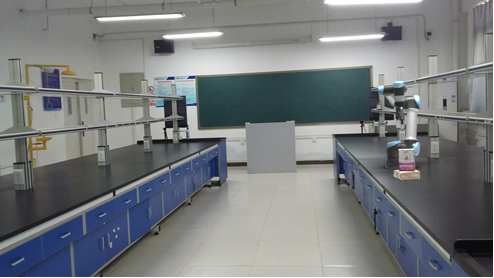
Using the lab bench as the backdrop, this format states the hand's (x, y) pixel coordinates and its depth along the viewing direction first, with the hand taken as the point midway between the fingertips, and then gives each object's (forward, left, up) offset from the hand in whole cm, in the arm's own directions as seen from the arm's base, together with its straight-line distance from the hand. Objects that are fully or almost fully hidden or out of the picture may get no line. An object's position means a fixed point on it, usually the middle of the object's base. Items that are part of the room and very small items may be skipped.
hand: (400, 128), depth 328 cm
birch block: (+16, 0, -37) cm, 41 cm away
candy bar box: (+16, 0, -31) cm, 35 cm away
